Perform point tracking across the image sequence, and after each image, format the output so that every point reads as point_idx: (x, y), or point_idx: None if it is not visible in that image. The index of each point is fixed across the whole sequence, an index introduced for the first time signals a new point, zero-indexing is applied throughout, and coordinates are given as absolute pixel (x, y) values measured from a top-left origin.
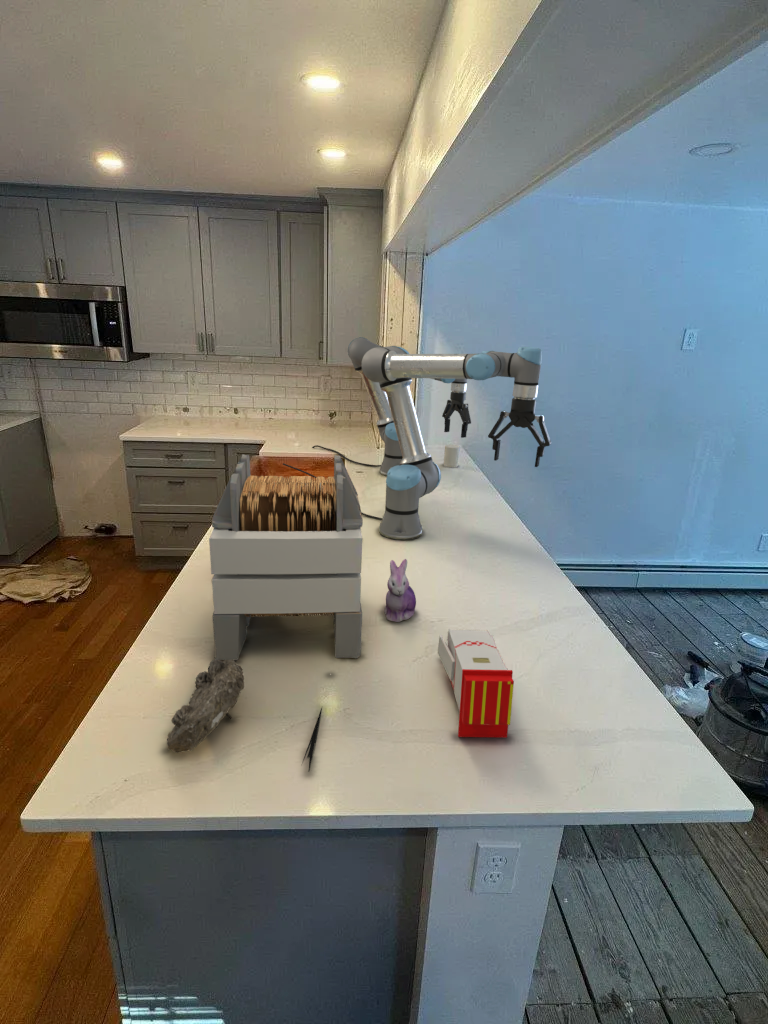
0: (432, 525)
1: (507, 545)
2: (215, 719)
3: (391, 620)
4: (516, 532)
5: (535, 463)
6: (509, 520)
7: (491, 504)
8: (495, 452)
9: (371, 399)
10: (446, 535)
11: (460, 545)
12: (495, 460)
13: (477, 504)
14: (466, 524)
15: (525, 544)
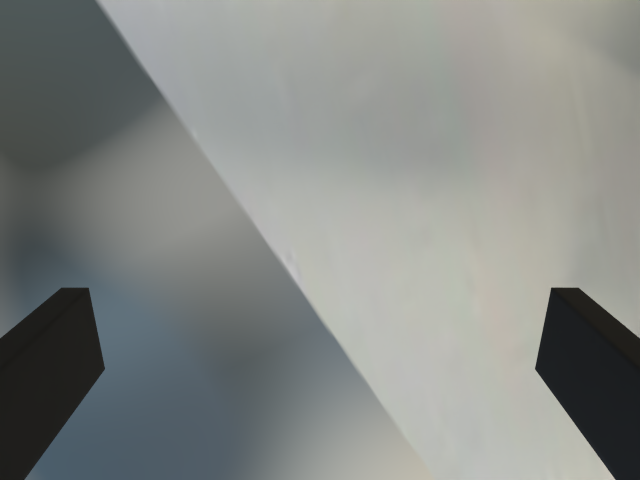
0: (633, 166)
1: (307, 130)
2: None
3: None
4: (314, 275)
5: (62, 307)
6: (367, 369)
7: (462, 472)
8: (634, 342)
9: None
10: (557, 92)
11: (478, 15)
12: (559, 288)
13: (508, 450)
14: (504, 251)
15: (250, 180)
